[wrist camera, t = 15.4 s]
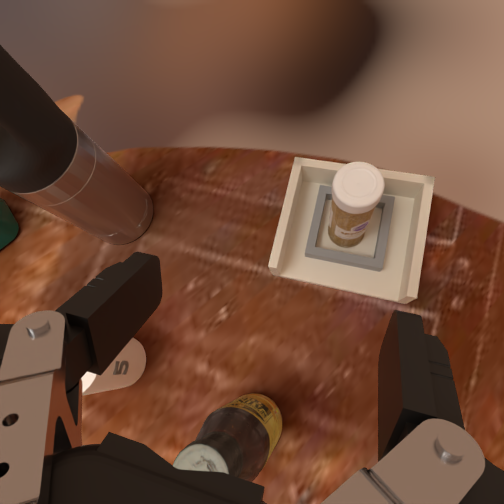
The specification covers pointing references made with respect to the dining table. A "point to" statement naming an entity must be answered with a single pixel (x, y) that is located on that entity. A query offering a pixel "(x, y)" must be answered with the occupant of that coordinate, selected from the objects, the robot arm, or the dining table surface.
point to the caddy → (372, 245)
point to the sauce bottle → (235, 438)
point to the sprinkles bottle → (353, 202)
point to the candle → (118, 370)
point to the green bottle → (7, 225)
